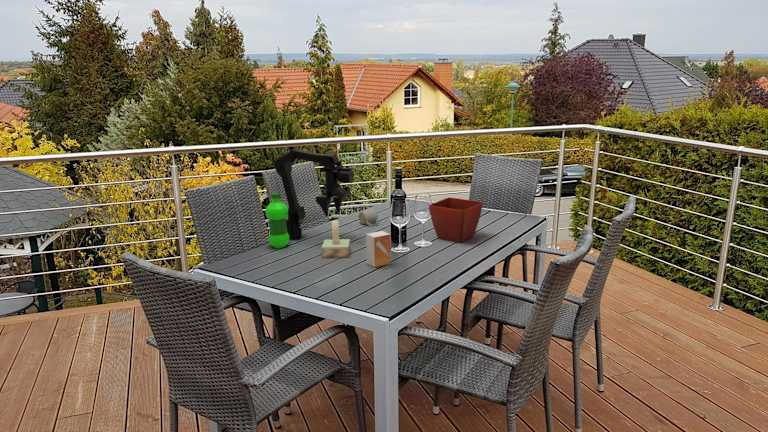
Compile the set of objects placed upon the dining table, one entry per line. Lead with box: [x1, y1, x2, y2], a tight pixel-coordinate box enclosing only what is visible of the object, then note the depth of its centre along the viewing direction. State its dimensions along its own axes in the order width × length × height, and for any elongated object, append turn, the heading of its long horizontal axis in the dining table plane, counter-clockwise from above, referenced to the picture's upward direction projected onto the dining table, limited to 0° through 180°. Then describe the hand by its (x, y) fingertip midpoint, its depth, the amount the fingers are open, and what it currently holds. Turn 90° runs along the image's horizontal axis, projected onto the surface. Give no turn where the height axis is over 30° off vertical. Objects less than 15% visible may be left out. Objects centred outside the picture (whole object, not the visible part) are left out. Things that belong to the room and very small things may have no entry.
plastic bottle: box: [264, 192, 290, 249], centre depth 251 cm, size 10×10×25 cm
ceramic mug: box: [358, 207, 379, 227], centre depth 288 cm, size 11×8×8 cm
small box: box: [365, 230, 392, 268], centre depth 226 cm, size 8×6×13 cm
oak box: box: [321, 243, 351, 259], centre depth 242 cm, size 11×11×4 cm
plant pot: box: [428, 197, 484, 243], centre depth 259 cm, size 19×19×17 cm
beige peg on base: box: [321, 219, 351, 250], centre depth 240 cm, size 11×11×11 cm
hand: (332, 214), depth 257 cm, fingers open, 9 cm apart
